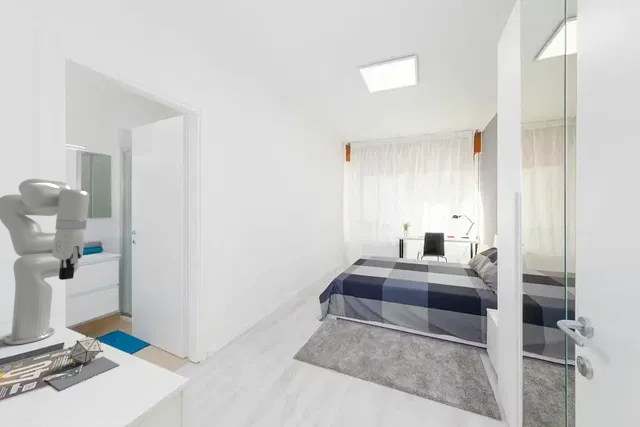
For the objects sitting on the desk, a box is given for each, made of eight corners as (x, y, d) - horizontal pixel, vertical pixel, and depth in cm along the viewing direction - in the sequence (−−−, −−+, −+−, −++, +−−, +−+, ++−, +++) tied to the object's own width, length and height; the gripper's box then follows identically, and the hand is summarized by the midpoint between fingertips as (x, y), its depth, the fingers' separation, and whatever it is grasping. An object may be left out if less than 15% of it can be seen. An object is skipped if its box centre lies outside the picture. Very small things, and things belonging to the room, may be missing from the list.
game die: (72, 356, 84) (106, 359, 86) (52, 369, 76) (90, 372, 78) (81, 328, 85) (115, 332, 88) (63, 338, 77) (100, 342, 79)
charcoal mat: (43, 379, 72) (43, 378, 72) (102, 357, 85) (102, 356, 85) (59, 391, 68) (59, 389, 68) (119, 365, 80) (119, 364, 81)
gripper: (46, 223, 87) (41, 276, 86) (66, 227, 80) (61, 285, 80) (75, 223, 93) (70, 273, 93) (96, 227, 87) (90, 280, 87)
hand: (66, 278), depth 86 cm, fingers closed
